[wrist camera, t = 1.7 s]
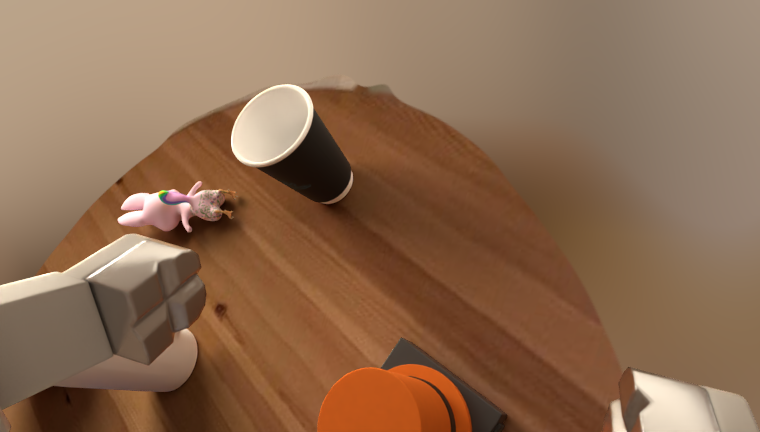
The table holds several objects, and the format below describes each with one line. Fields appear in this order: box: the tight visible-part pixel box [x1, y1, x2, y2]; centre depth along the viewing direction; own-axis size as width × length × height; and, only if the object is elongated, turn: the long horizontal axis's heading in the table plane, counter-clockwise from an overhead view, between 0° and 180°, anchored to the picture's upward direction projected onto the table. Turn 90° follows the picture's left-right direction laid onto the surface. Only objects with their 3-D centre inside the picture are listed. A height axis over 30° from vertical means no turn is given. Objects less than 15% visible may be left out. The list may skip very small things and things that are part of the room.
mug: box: [53, 329, 198, 392], centre depth 41 cm, size 10×7×12 cm, turn 130°
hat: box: [317, 364, 472, 432], centre depth 29 cm, size 8×8×8 cm
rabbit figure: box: [118, 181, 238, 232], centre depth 51 cm, size 6×6×15 cm
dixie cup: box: [231, 84, 353, 204], centre depth 43 cm, size 8×8×11 cm
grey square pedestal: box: [380, 338, 507, 432], centre depth 33 cm, size 9×9×2 cm
